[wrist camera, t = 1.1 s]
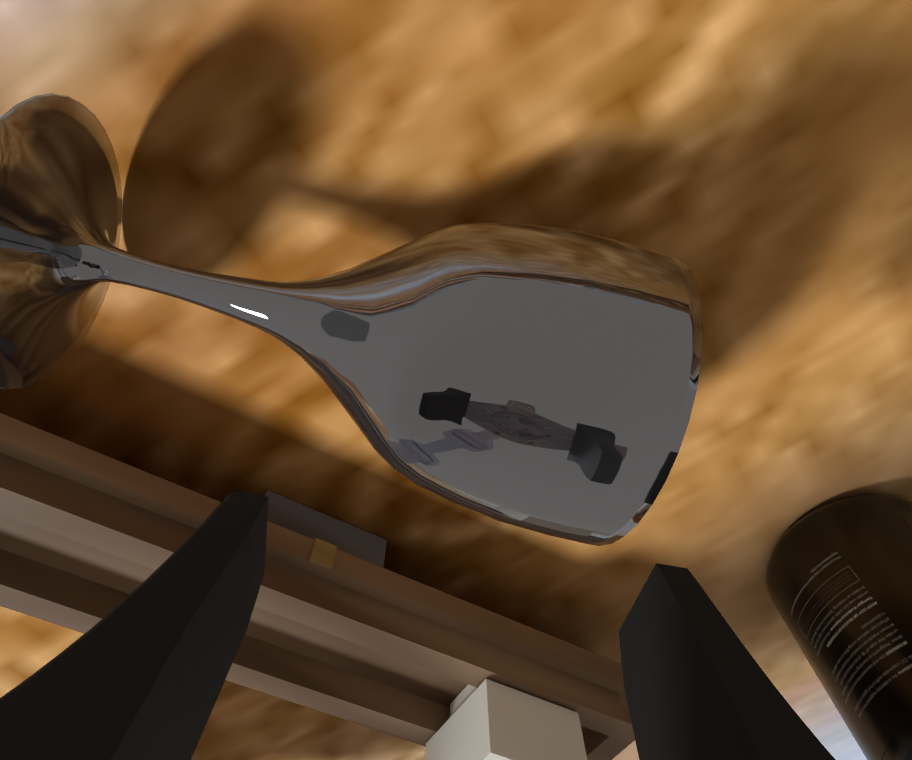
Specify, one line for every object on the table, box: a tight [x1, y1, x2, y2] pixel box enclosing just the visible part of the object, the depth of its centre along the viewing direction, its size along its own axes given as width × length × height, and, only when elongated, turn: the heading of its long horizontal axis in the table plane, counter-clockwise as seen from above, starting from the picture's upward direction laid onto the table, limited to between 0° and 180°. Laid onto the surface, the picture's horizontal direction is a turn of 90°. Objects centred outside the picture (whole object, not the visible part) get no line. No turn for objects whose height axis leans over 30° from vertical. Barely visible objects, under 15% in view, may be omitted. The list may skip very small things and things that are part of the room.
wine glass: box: [0, 93, 703, 546], centre depth 16 cm, size 8×8×15 cm
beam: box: [0, 413, 635, 760], centre depth 23 cm, size 6×28×4 cm, turn 60°
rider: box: [425, 679, 587, 760], centre depth 23 cm, size 4×4×4 cm
